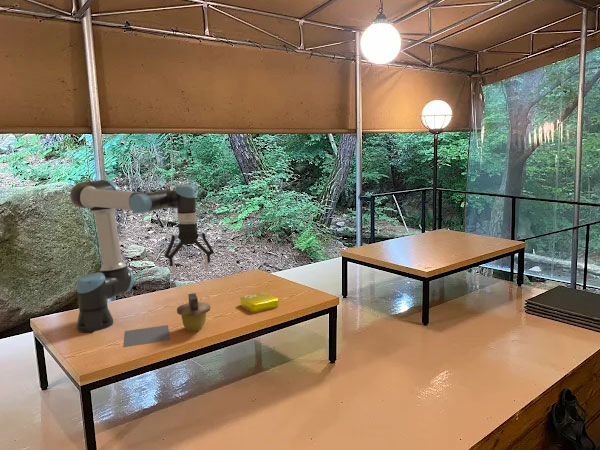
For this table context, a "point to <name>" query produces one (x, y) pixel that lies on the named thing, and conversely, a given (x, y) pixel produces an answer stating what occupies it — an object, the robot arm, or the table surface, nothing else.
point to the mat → (146, 335)
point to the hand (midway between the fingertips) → (190, 272)
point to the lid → (193, 307)
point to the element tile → (259, 302)
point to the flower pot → (194, 322)
